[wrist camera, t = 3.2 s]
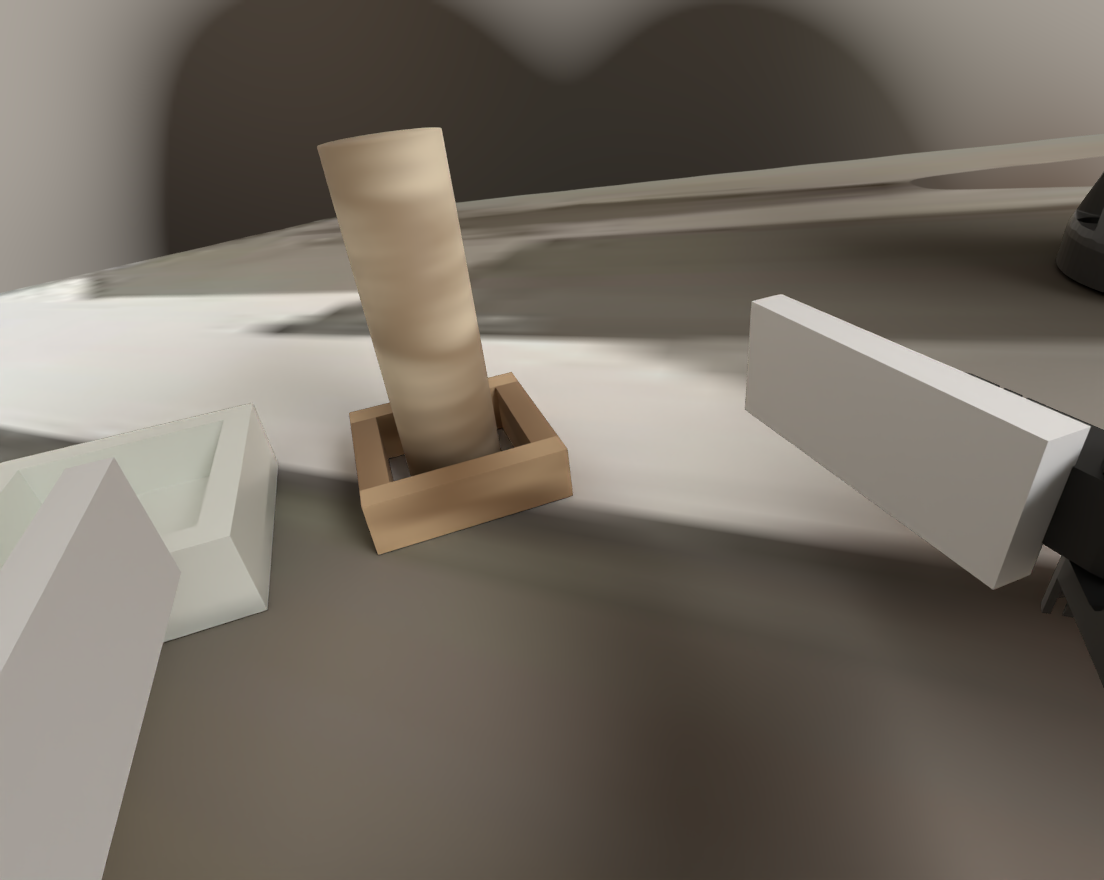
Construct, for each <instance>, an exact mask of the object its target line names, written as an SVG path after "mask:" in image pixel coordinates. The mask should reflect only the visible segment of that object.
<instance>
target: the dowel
mask: <svg viewBox="0 0 1104 880" xmlns="http://www.w3.org/2000/svg"><path fill="white" fill-rule="evenodd" d="M317 149H318V152H319V156H320V159H321V163H322V166H323V169H324V173H325V176H326V180H327V183H328V187H329V191H330V194H331V198H332V201H333V205H334V208H335V212H336V216H337V219H338V223H339V226H340V230H341V233H342V237H343V240H344V244H345V247H346V251H347V254H348V258H349V261H350V265H351V268H352V272H353V275H354V279H355V282H356V286H357V289H358V293H359V296H360V300H361V303H362V307H363V310H364V314H365V317H366V321H367V324H368V328H369V331H370V335H371V338H372V342H373V345H374V349H375V352H376V356H377V359H378V363H379V366H380V370H381V373H382V377H383V380H384V384H385V387H386V391H387V394H388V398H389V401H390V405H391V408H392V412H393V416H394V419H395V423H396V426H397V430H398V433H399V437H400V440H401V444H402V447H403V451H404V454H405V458H406V461H407V465H408V468H409V472H410V475H411V477H412V476H415V475H419V474H422V473H426V472H429V471H433V470H436V469H440V468H444V467H447V466H451V465H454V464H458V463H461V462H465V461H469V460H472V459H476V458H479V457H483V456H486V455H490V454H494V453H497V452H501V447H500V442H499V436H498V431H497V426H496V420H495V415H494V409H493V404H492V399H491V393H490V388H489V382H488V377H487V372H486V366H485V361H484V355H483V350H482V345H481V339H480V334H479V328H478V323H477V318H476V312H475V307H474V301H473V296H472V291H471V285H470V280H469V274H468V269H467V264H466V258H465V253H464V247H463V242H462V237H461V231H460V226H459V220H458V215H457V210H456V204H455V199H454V194H453V188H452V183H451V177H450V172H449V167H448V161H447V156H446V150H445V145H444V139H443V134H442V129H441V128H419V129H407V130H398V131H390V132H383V133H376V134H369V135H363V136H357V137H352V138H347V139H341V140H337V141H333V142H328V143H325V144H321V145H319V146H317Z"/></svg>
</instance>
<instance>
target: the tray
mask: <svg viewBox="0 0 1104 880" xmlns="http://www.w3.org/2000/svg"><path fill="white" fill-rule="evenodd" d="M111 457H114V458H115V459H116V461H117V463H118V465H119V466H120V468H121V470H122V471H123V473H124V475H125V477H126V478H127V480H128V482H129V483H130V485H131V487H132V489H133V490H134V492H135V494H136V496H137V497H138V499H139V501H140V502H141V504H142V506H143V508H144V509H145V511H146V513H147V514H148V516H149V518H150V520H151V521H152V523H153V525H154V526H155V528H156V530H157V532H158V533H159V535H160V537H161V539H162V540H163V542H164V544H165V545H166V547H167V549H168V551H169V552H170V554H171V556H172V557H173V559H174V561H175V563H176V564H177V566H178V568H179V570H180V571H181V575H180V579H179V583H178V587H177V591H176V595H175V598H174V602H173V606H172V610H171V614H170V618H169V622H168V625H167V629H166V633H165V637H164V641H163V642H166V641H169V640H172V639H176V638H179V637H182V636H185V635H188V634H192V633H195V632H198V631H201V630H204V629H208V628H211V627H214V626H217V625H220V624H224V623H227V622H230V621H233V620H236V619H240V618H243V617H246V616H249V615H252V614H256V613H259V612H262V611H265V610H268V597H269V583H270V570H271V557H272V543H273V530H274V516H275V503H276V490H277V476H278V462H277V459H276V457H275V455H274V452H273V450H272V447H271V445H270V443H269V440H268V438H267V436H266V433H265V431H264V428H263V426H262V424H261V421H260V419H259V416H258V414H257V412H256V409H255V407H254V405H253V403H249V404H245V405H241V406H237V407H232V408H228V409H224V410H220V411H216V412H211V413H207V414H203V415H199V416H195V417H190V418H186V419H182V420H178V421H174V422H170V423H165V424H161V425H157V426H153V427H149V428H144V429H140V430H136V431H132V432H128V433H123V434H119V435H115V436H111V437H107V438H103V439H98V440H94V441H90V442H86V443H82V444H77V445H73V446H69V447H65V448H61V449H56V450H52V451H48V452H44V453H40V454H36V455H31V456H27V457H23V458H19V459H15V460H10V461H6V462H2V463H0V570H1V568H2V567H3V565H4V563H5V562H6V560H7V559H8V557H9V556H10V554H11V552H12V551H13V549H14V548H15V546H16V545H17V543H18V541H19V540H20V538H21V537H22V535H23V534H24V532H25V531H26V529H27V527H28V526H29V524H30V523H31V521H32V520H33V518H34V516H35V515H36V513H37V512H38V510H39V509H40V507H41V505H42V504H43V502H44V501H45V499H46V498H47V496H48V495H49V493H50V491H51V490H52V488H53V487H54V485H55V484H56V482H57V480H58V479H59V477H60V476H61V474H62V473H63V471H64V469H66V468H70V467H74V466H78V465H82V464H86V463H91V462H95V461H99V460H103V459H107V458H111Z"/></svg>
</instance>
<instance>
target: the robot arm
mask: <svg viewBox="0 0 1104 880" xmlns="http://www.w3.org/2000/svg"><path fill="white" fill-rule="evenodd" d="M1056 264H1057V266H1058V268H1059V269H1060V270H1061V271H1062V272H1063V273H1064V274H1065V275H1067V276H1068V277H1070V278H1071V279H1073V280H1075V281H1077V282H1079V283H1081V284H1083V285H1085V286H1088V287H1090V288H1093V289H1095V290H1098V291H1101V292H1104V172H1103V173H1102V175H1101V176H1100V178H1099V179H1098V180H1097V182H1096V183H1095V185H1094V186H1093V187H1092V189H1091V190H1090V192H1089V193H1088V194H1087V196H1086V197H1085V198H1084V200H1083V201H1082V203H1081V204H1080V205H1079V207H1078V208H1077V210H1076V211H1075V212H1074V214H1073V215H1072V217H1071V218H1070V220H1069V222H1068V224H1067V226H1066V229H1065V232H1064V236H1063V239H1062V242H1061V245H1060V248H1059V251H1058V254H1057V257H1056ZM745 410H746V411H748V412H749V413H750V414H752V415H753V416H755V417H756V418H757V419H759V420H760V421H761V422H763V423H764V424H766V425H767V426H768V427H770V428H771V429H772V430H774V431H775V432H777V433H778V434H779V435H781V436H782V437H783V438H785V439H786V440H788V441H789V442H790V443H792V444H793V445H794V446H796V447H797V448H799V449H800V450H801V451H803V452H804V453H805V454H807V455H808V456H810V457H811V458H812V459H814V460H815V461H816V462H818V463H819V464H821V465H822V466H823V467H825V468H826V469H827V470H829V471H830V472H832V473H833V474H834V475H836V476H837V477H839V478H840V479H841V480H843V481H844V482H845V483H847V484H848V485H850V486H851V487H852V488H854V489H855V490H856V491H858V492H859V493H861V494H862V495H863V496H865V497H866V498H867V499H869V500H870V501H872V502H873V503H874V504H876V505H877V506H878V507H880V508H881V509H883V510H884V511H885V512H887V513H888V514H889V515H891V516H892V517H894V518H895V519H896V520H898V521H899V522H900V523H902V524H903V525H905V526H906V527H907V528H909V529H910V530H911V531H913V532H914V533H916V534H917V535H918V536H920V537H921V538H923V539H924V540H925V541H927V542H928V543H929V544H931V545H932V546H934V547H935V548H936V549H938V550H939V551H940V552H942V553H943V554H945V555H946V556H947V557H949V558H950V559H951V560H953V561H954V562H956V563H957V564H958V565H960V566H961V567H962V568H964V569H965V570H967V571H968V572H969V573H971V574H972V575H973V576H975V577H976V578H978V579H979V580H980V581H982V582H983V583H984V584H986V585H987V586H989V587H990V588H991V589H993V590H994V589H997V588H999V587H1002V586H1004V585H1006V584H1009V583H1011V582H1014V581H1016V580H1019V579H1021V578H1024V577H1026V576H1028V575H1031V572H1032V570H1033V567H1034V565H1035V562H1036V560H1037V558H1038V555H1039V553H1040V550H1041V548H1042V545H1043V544H1044V545H1046V546H1047V547H1049V548H1051V549H1052V550H1054V551H1056V552H1057V553H1059V554H1060V555H1062V556H1061V558H1060V560H1059V563H1058V565H1057V567H1056V569H1055V572H1054V574H1053V576H1052V579H1051V581H1050V583H1049V586H1048V588H1047V590H1046V593H1045V595H1044V597H1043V599H1042V602H1041V607H1042V613H1049V614H1050V613H1051V611H1052V609H1053V607H1054V604H1055V602H1056V600H1057V598H1061V597H1065V598H1066V600H1067V605H1066V607H1065V609H1064V611H1063V613H1062V615H1063V616H1068V617H1074V619H1075V621H1076V623H1077V626H1078V628H1079V630H1080V633H1081V635H1082V637H1083V640H1084V642H1085V644H1086V647H1087V649H1088V651H1089V654H1090V656H1091V658H1092V661H1093V663H1094V665H1095V668H1096V670H1097V673H1098V675H1099V677H1100V680H1101V682H1102V684H1103V687H1104V430H1103V429H1100V428H1098V427H1096V426H1093V425H1091V424H1088V423H1086V422H1084V421H1081V420H1079V419H1077V418H1074V417H1072V416H1070V415H1067V414H1065V413H1063V412H1060V411H1058V410H1056V409H1053V408H1051V407H1048V406H1046V405H1044V404H1041V403H1039V402H1037V401H1034V400H1032V399H1030V398H1026V399H1025V398H1023V397H1022V395H1020V394H1018V393H1016V392H1013V391H1011V390H1008V389H1006V388H1004V389H1002V388H1000V386H999V385H997V384H994V383H992V382H990V381H987V380H985V379H983V378H980V377H978V376H976V375H973V374H970V373H966V372H962V371H960V370H958V369H955V368H953V367H951V366H948V365H946V364H944V363H941V362H939V361H937V360H934V359H932V358H930V357H927V356H925V355H922V354H920V353H918V352H915V351H913V350H911V349H908V348H906V347H904V346H901V345H899V344H897V343H894V342H892V341H890V340H887V339H885V338H883V337H880V336H878V335H876V334H873V333H871V332H869V331H866V330H864V329H862V328H859V327H857V326H855V325H852V324H850V323H848V322H845V321H843V320H841V319H838V318H836V317H834V316H831V315H829V314H827V313H824V312H822V311H820V310H817V309H815V308H813V307H810V306H808V305H806V304H803V303H801V302H799V301H796V300H794V299H792V298H789V297H787V296H785V295H782V294H779V295H775V296H771V297H767V298H763V299H759V300H755V301H752V303H751V319H750V335H749V351H748V367H747V383H746V399H745ZM180 575H181V571H180V570H179V568H178V566H177V564H176V563H175V561H174V559H173V557H172V556H171V554H170V552H169V551H168V549H167V547H166V545H165V544H164V542H163V540H162V539H161V537H160V535H159V533H158V532H157V530H156V528H155V526H154V525H153V523H152V521H151V520H150V518H149V516H148V514H147V513H146V511H145V509H144V508H143V506H142V504H141V502H140V501H139V499H138V497H137V496H136V494H135V492H134V490H133V489H132V487H131V485H130V483H129V482H128V480H127V478H126V477H125V475H124V473H123V471H122V470H121V468H120V466H119V465H118V463H117V461H116V459H115V458H114V457H111V458H107V459H103V460H99V461H95V462H91V463H86V464H82V465H78V466H74V467H70V468H66V469H64V471H63V473H62V474H61V476H60V477H59V479H58V480H57V482H56V484H55V485H54V487H53V488H52V490H51V491H50V493H49V495H48V496H47V498H46V499H45V501H44V502H43V504H42V505H41V507H40V509H39V510H38V512H37V513H36V515H35V516H34V518H33V520H32V521H31V523H30V524H29V526H28V527H27V529H26V531H25V532H24V534H23V535H22V537H21V538H20V540H19V541H18V543H17V545H16V546H15V548H14V549H13V551H12V552H11V554H10V556H9V557H8V559H7V560H6V562H5V563H4V565H3V567H2V568H1V570H0V880H102V876H103V872H104V868H105V864H106V860H107V856H108V853H109V849H110V845H111V841H112V837H113V833H114V829H115V826H116V822H117V818H118V814H119V810H120V806H121V803H122V799H123V795H124V791H125V787H126V783H127V779H128V776H129V772H130V768H131V764H132V760H133V756H134V752H135V749H136V745H137V741H138V737H139V733H140V729H141V725H142V722H143V718H144V714H145V710H146V706H147V702H148V699H149V695H150V691H151V687H152V683H153V679H154V675H155V672H156V668H157V664H158V660H159V656H160V652H161V648H162V645H163V641H164V637H165V633H166V629H167V625H168V622H169V618H170V614H171V610H172V606H173V602H174V598H175V595H176V591H177V587H178V583H179V579H180Z"/></svg>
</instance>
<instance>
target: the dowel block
mask: <svg viewBox="0 0 1104 880" xmlns="http://www.w3.org/2000/svg"><path fill="white" fill-rule="evenodd" d="M488 382H489V388H490V393H491V399H492V404H493V409H494V415H495V420H496V426H497V429H499V428H503V429H504V431H505V432H506V434H507V436H508V438H509V439H510V441H511V443H512V444H513V446H514V448H511V449H508V450H504V451H501V452H497V453H494V454H490V455H486V456H483V457H479V458H476V459H472V460H469V461H465V462H461V463H458V464H454V465H451V466H447V467H444V468H440V469H436V470H433V471H429V472H426V473H422V474H419V475H415V476H412V477H408V478H404V479H401V480H397V481H394V482H393V477H392V473H391V468H390V464H389V459H388V458H392V457H396V456H399V455H403V454H404V451H403V447H402V444H401V440H400V437H399V433H398V430H397V426H396V423H395V419H394V416H393V412H392V408H391V405H390V403H386V404H382V405H378V406H374V407H370V408H366V409H362V410H358V411H354V412H350V413H349V416H350V423H351V431H352V438H353V446H354V453H355V461H356V468H357V476H358V484H359V491H360V499H361V506H362V510H363V513H364V516H365V519H366V522H367V524H368V527H369V530H370V533H371V536H372V539H373V542H374V545H375V547H376V550H377V553H378V555H380V554H383V553H386V552H389V551H393V550H396V549H399V548H402V547H406V546H409V545H412V544H416V543H419V542H422V541H425V540H429V539H432V538H435V537H438V536H442V535H445V534H448V533H452V532H455V531H458V530H461V529H465V528H468V527H471V526H475V525H478V524H481V523H484V522H488V521H491V520H494V519H497V518H501V517H504V516H507V515H511V514H514V513H517V512H520V511H524V510H527V509H530V508H533V507H537V506H540V505H543V504H547V503H550V502H553V501H556V500H560V499H563V498H566V497H570V496H573V492H572V484H571V475H570V467H569V458H568V450H567V448H566V446H565V445H564V444H563V442H562V441H561V440H560V438H559V437H558V435H557V434H556V433H555V431H554V430H553V429H552V427H551V426H550V424H549V423H548V422H547V420H546V419H545V418H544V416H543V415H542V413H541V412H540V411H539V409H538V408H537V407H536V405H535V404H534V402H533V401H532V400H531V398H530V397H529V395H528V394H527V393H526V391H525V390H524V389H523V387H522V386H521V384H520V383H519V382H518V380H517V379H516V378H515V376H514V375H513V373H512V372H510V373H506V374H502V375H498V376H494V377H490V378H488Z"/></svg>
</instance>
